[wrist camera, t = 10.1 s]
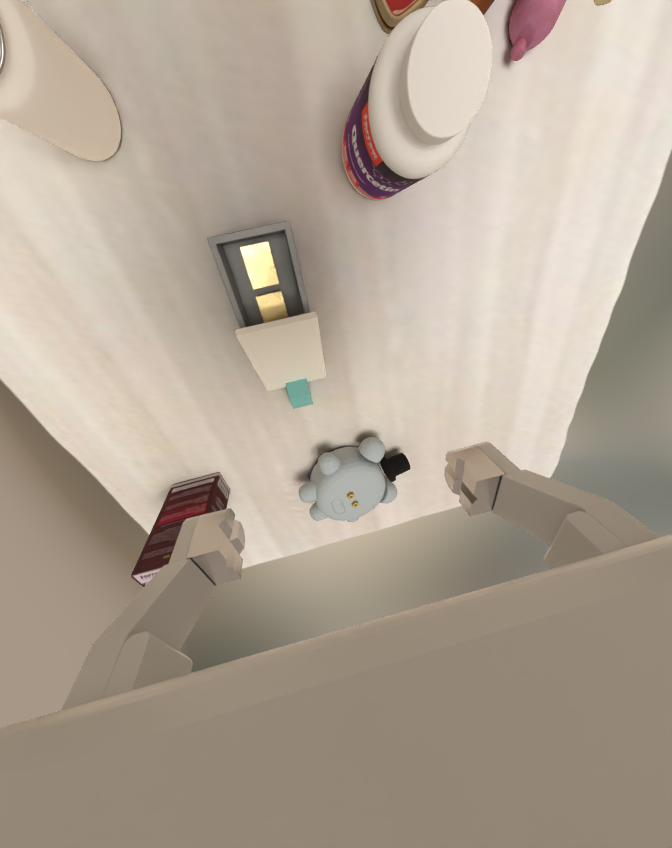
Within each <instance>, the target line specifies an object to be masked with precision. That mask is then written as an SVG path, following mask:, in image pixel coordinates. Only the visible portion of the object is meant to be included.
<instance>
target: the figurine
mask: <svg viewBox="0 0 672 848" xmlns="http://www.w3.org/2000/svg"><path fill="white" fill-rule="evenodd" d="M384 453H385V446H384V444H383V442H382V441H381V440H380V439H378V438H376V437H368V438H366V439H364V440H363V441H362V442H361V444H360V445H359V447H344V448H339V449H336V450H334V451H332V452H326V453H324V454H322V455H321V456H320V457H319V459H318V463H317V464H316V465H315V466H314V468H313V470H312V473H311V474H310V475H308V477H309V479H310V482H308V483H306V484H304V485H302V486H301V487H300V489H299V496H300V499H301V500H302V501H303V502H313V501H315V502H316V503H314V504H313V505H312V507H311V508H310V515H311V517H312V518H313V519H314V520H317V521H318V520H323V519H325V518H327V517H329V518H331V519H334V520H341V521H345V520H347V521H348V522H355V521H356V520H358V519H359V517H360V516H363V515H365V514H366V513H368V512H369V511H371V510H372V509H374V508H375V507H376V506H377V505H378V503H379V502H380V503H390V502H392V501H393V500H394V499H395V498H396V495H397V489H396V487H395V485H394V484H393V483H392V482H393V481H395V480H396V476H397V475H399V474H401V473H403V472H406V471H408V470H409V469H410V464H409V461H408V460H407V458H406V456H405V455H404V454H403V453H400V454H398V455H395V456H393V457H391V458H389V459H386V458H385V457H383V456H384ZM379 462H380V463H381V466H382V469H383V471H384V473H385V475H386V476H387V478H388V479H389V480H385V477H384V475H383V472H382V470H381V468H380V467H379V465H378V464H377V463H379Z"/></svg>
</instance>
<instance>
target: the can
mask: <svg viewBox="0 0 672 848" xmlns="http://www.w3.org/2000/svg"><path fill="white" fill-rule="evenodd" d="M0 118H2V119H4V120H6V121H8V122H10V123H12V124H14V125H16V126H18V127H20V128H22V129H24V130H26V131H28V132H30V133H32V134H34V135H36V136H38V137H40V138H42V139H44V140H46V141H48V142H49V143H51V144H53V145H55V146H57V147H59V148H61V149H63V150H65V151H67V152H70V153H72V154H74V155H76V156H78V157H80V158H83V159H86V160H90V161H103V160H106V159H108V158H110V157H111V156H112V155H113V154H114V153H115V152H116V150H117V149H118V146H119V143H120V139H121V125H120V119H119V115H118V112H117V109H116V106H115V104H114V102H113V99H112V97H111V96H110V94H109V92H108V90H107V89H106V87H105V86H104V84H103V83H102V82H101V80H100V79H99V78H98V77H97V76H96V75H95V73H94V72H93V71H92V70H91V69H90V68H89V67H88V66H87V65H86V64H85V63H84V62H83V61H82V60H81V59H80V58H79V57H78V56H77V55H76V54H75V53H74V52H73V51H72V50H71V49H70V48H69V47H68V46H67V45H66V44H65V43H64V42H63V41H62V40H61V39H60V38H59V37H58V36H57V35H56V34H55V33H54V32H53V31H52V30H51V29H50V28H49V27H48V26H47V25H46V24H45V23H44V22H43V21H42V20H41V19H40V18H39V17H38V16H37V15H36V14H35V13H34V12H33V11H32V10H31V9H30V8H29V7H28V6H27V5H26V4H25V3H24V2H23V1H22V0H0Z"/></svg>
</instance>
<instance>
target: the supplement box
mask: <svg viewBox="0 0 672 848" xmlns="http://www.w3.org/2000/svg"><path fill="white" fill-rule="evenodd" d="M229 493H230V489H229V487H228V486H227V484H226V482H225V481H224V479H223V477H222V476H221V474H220V473H215V474H212V475H208V476H204V477H201V478H197V479H193V480H189V481H186V482H182V483H178V484H174V485H172V487H171V489H170V491H169V493H168V495H167V498H166V500H165V502H164V504H163V507H162V509H161V511H160V513H159V515H158V517H157V520H156V522H155V524H154V526H153V529H152V531H151V533H150V535H149V537H148V540H147V542H146V544H145V546H144V548H143V551H142V553H141V555H140V557H139V559H138V561H137V564H136V566H135V568H134V571H133V572H132V575H131V577H132V578H133V579H134V580H135V581H137V582H138V583H139V584H140V585H142V586H143V587H145V586H146V585H147V584H148V582H149V581H150V580H151V579H152V578H153V577H154V576H155V575H156V574H157V572H158V571H159V570H160V569H161V568H162V567H163V566H164V565H167V564H169V561H170V558H171V555H172V552H173V550H174V547H175V544H176V541H177V538H178V536H179V533H180V530H181V527H182V524H183V522H184V521H185V520H186V519H187V518H192V517H196V516H200V515H203V514H208V513H212V512H216V511H221V510H225V509H226V507H227V502H228V498H229Z"/></svg>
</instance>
